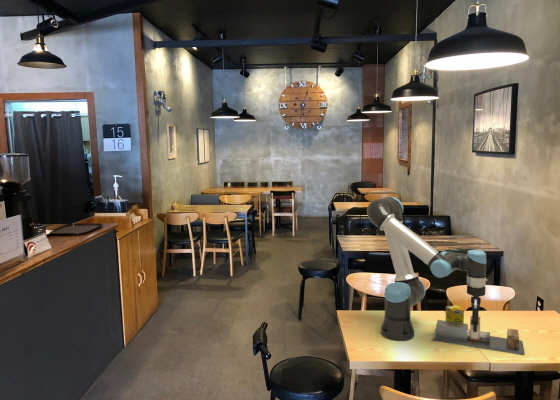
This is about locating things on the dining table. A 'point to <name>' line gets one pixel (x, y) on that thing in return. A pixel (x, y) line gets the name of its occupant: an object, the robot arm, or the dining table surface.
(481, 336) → the clear cylinder with block
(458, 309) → the supplement box
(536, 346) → the dining table surface
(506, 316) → the dining table surface
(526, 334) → the dining table surface
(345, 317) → the dining table surface
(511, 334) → the socket block
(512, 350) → the base
